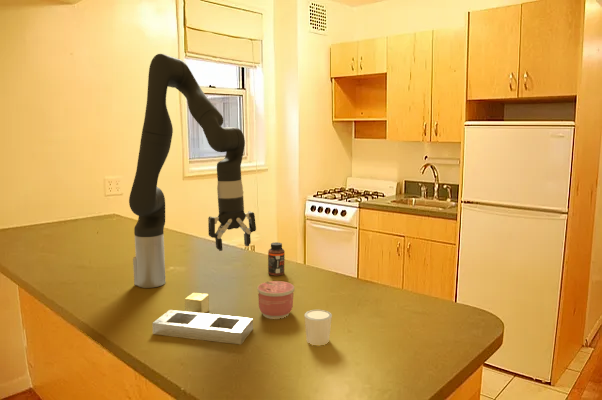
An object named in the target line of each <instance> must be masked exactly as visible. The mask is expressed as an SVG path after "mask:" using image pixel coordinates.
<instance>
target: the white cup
mask: <svg viewBox="0 0 602 400" xmlns="http://www.w3.org/2000/svg"><path fill="white" fill-rule="evenodd" d="M332 317H333V314H332V313H331V312H330V311H327V310H323V309H311V310H307V311H306V312H305V313H304V324H305V325H304V326H305V335H306V337H305V338H306V342H307V344H308V343H310V344H312V345H311V346H313V345H324V344H327V343H328V342H329V343H330V334H331V328H332V327H331V325H332ZM329 343H328V344H329ZM310 344H309V345H310ZM328 344H327V345H328ZM324 346H325V345H324Z"/></svg>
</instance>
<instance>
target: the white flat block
mask: <svg viewBox="0 0 602 400" xmlns="http://www.w3.org/2000/svg"><path fill="white" fill-rule="evenodd" d="M151 325H152V326H151V327H152V334H153V335H157V336H158V335H160V336H166V337H167V336H168V337H175V338H176V337H177V338H183V339H193V340H201V341H210V342H216V343H217V342H218V343H226V344H235V345H242V344H243V343H244V341H245V340H246V338H247V337H248V336H249V335H250V333H251V332H252V331H253V330H254V318H250V317H243V316H234V315H233V316H232V315H226V314H225V315H224V314H216V313H215V314H214V313H213V314H212V313H197V312H187V311H185V310H175V309H174V310H173V309H168V310H167V311H166V312H165V313H164V314H162V315H161V316H160V317H158V318H157V319H155V320H154V321H153V322H152V324H151Z"/></svg>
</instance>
